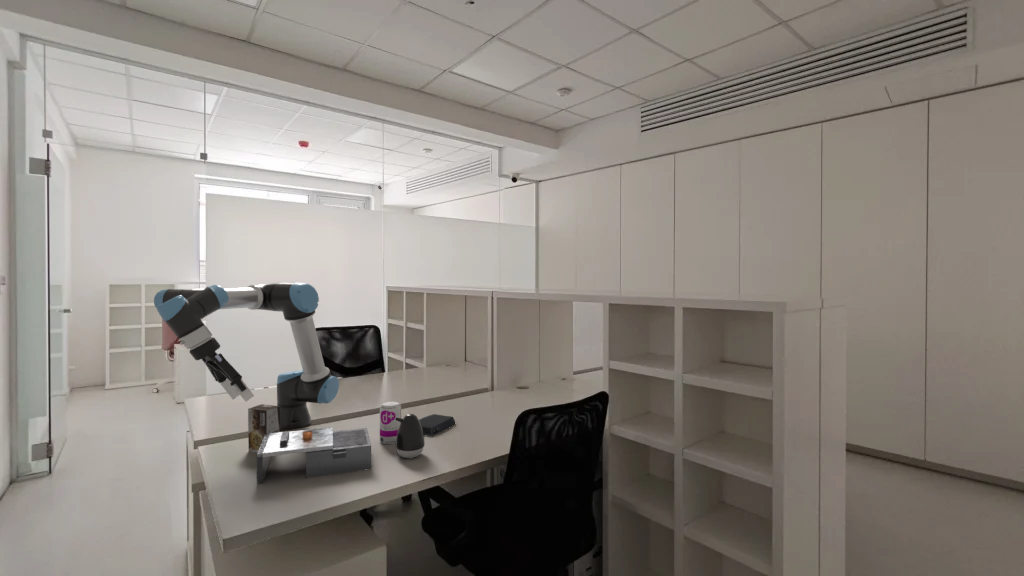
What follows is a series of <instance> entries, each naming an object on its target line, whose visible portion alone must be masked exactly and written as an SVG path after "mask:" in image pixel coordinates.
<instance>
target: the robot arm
mask: <svg viewBox="0 0 1024 576" xmlns="http://www.w3.org/2000/svg"><path fill="white" fill-rule="evenodd" d="M319 301H320V298H319V294H318V292H317V290H316V288H315V287H314V286H313V285H311V284H309V283H306V282H299V281H298V282H269V283H263V284H254V285H253V284H250V285H248V286H247V287H237V288H236V287H226V288H224V287H222V286H221V285H219V284H213V285H210V286H207V287H205V288H187V289H185V288H183V289H182V288H181V289H180V288H178V289H177V288H176V289H174V288H173V289H172V288H166V289H162V290H160V291H158V292H156V294H155V295H154V298H153V305H154V307H155V309H156V311H157V313H158V314H159V316H160V317H161V318H162V321H164V322H165V324H166V325H167V326H168V327H169V329H170V330H171V331H172V332H173V333H174V335H175V336H176V337H177V338H178V339H179V344H180V345H181V346H182V345H184V347H185V348H186V350H189V354H190V355H191V356H192V357H193V359H194V360H195V361H200V360H201V361H202V362H203V363H204V365H205V366H206V367H207V369H208V371H209V372H210V374H211V375H212V377H213V378H214V381H216V382H218V383H219V384H220V385H221V387H222V388H223V389H224V390H225V392H226V393H227V394H228V396H229V397H230V398H231V400H235V399H236V398H237V397H239V396H240V397H241V398H242V399H243V400H244V402H248V401H250V400H251V399H252V398H253V397H255V395H254V394H253V392H252V390H250V388H249V387H248V386H247V384H246V383H245V381H244V380H243V379H242V378H243V375H241V374H240V373H239V372H238V371H237V370H236V369H235V367H234V366H232V364H231V363H230V362H229V361H228V360H227V359H226V358H225V357H224V356H223V354H222V353H221V352H220V353H217V352H216V351H217V350H219V349H220V348H221V344H220V343H219V342H218V340H217V338H215V337H212V336H213V333H212V332H211V331H210V329H209V328H208V327H207V325H206V324H205V323H204V322H203V319H204V318H206V317H208V316H209V315H211V314H213V313H214V312H217V311H218V310H231V309H244V308H245V309H248V310H253V311H255V310H260V311H263V310H264V311H270V312H271V311H272V312H282V314H283V317H284V320H285V321H288V322H289V323H290V329H291V332H292V335H293V339H294V342H295V346H296V350H297V354H298V357H299V361H300V364H301V369H299V370H298V369H297V370H291V371H286V372H283V373H280V374H278V376H277V382H276V406H280V430H294V429H295V430H296V429H301V428H303V427H306V426H308V425H310V424H311V422H312V419H311V414H310V412H309V408H308V406H307V403H312V404H313V403H315V404H319V405H321V404H329V403H331V402H333V401H334V399H335V398H336V397H337V394H338V391H339V389H340V381H339V379H338V377H336V376H335V375H332V374H331V370H330V368H329V367H327V366H325V365H326V364H325V362H324V358H323V355H322V349H321V346H320V342H319V338H318V334H317V330H316V325H315V321H314V315H315V314H316V310H317V308H318V306H319Z"/></svg>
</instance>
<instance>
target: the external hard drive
mask: <svg viewBox="0 0 1024 576" xmlns="http://www.w3.org/2000/svg"><path fill="white" fill-rule="evenodd" d="M418 419H419V418H418ZM419 421H420V424H421V426H422V429H423V434H424V435H427V437H431V436H432V437H435V436H436V434H437V435H439V434H442V433H443V432H445V431H447V430H448V429H450V428H452V427H453V426H455V425H456V424H455V423H456V421H455V418H454V416H449V415H442V414H436V413H434V414H430V415H426V416H424V417H421V418H420V419H419ZM454 424H455V425H454ZM452 425H453V426H452ZM451 426H452V427H451ZM449 427H450V428H449ZM446 429H447V430H446ZM444 430H445V431H444ZM434 435H435V436H434Z"/></svg>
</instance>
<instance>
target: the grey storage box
mask: <svg viewBox="0 0 1024 576" xmlns="http://www.w3.org/2000/svg"><path fill="white" fill-rule="evenodd" d="M368 431H369V430H368V428H367V427H361V428H353V429H343V430H342V429H341V430H333V449H328V450H320V451H311V452H305V478H315V477H321V476H322V477H323V476H330V474H331V475H338V473H339V474H345V473H352V471H354V472H359V471H358V470H361V471H366V470H365V469H369V470H372V443H371V438H370V435H369V432H368Z"/></svg>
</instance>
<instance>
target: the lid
mask: <svg viewBox="0 0 1024 576" xmlns="http://www.w3.org/2000/svg"><path fill="white" fill-rule="evenodd" d="M333 431H334V430H333V426H331V427H324V428H323V427H321V428H313V429H312V428H311V429H310V428H309V429H303V430H302V429H301V430H291V431H289V430H288V431H286V430H285V431H280V432H279V433H269V434H265V436H264V438H263V440H262V443H261V445H260V448H259V450H258V452H257V453H256V484H257V483H263V482H264V479H265V476H266V473H267V470H268V467H269V464H270V462H271V457H274V456H275V457H276V456H283V455H292V454H300V453H306V452H311V451H320V450H328V449H333Z"/></svg>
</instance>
